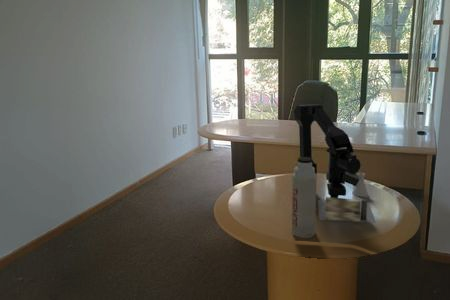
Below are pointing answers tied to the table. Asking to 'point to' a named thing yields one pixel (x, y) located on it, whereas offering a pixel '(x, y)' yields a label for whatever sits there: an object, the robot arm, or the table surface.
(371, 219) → the slate board
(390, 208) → the table surface
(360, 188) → the flask
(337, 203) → the beige flat block
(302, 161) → the thermos bottle
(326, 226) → the table surface
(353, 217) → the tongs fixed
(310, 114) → the robot arm
